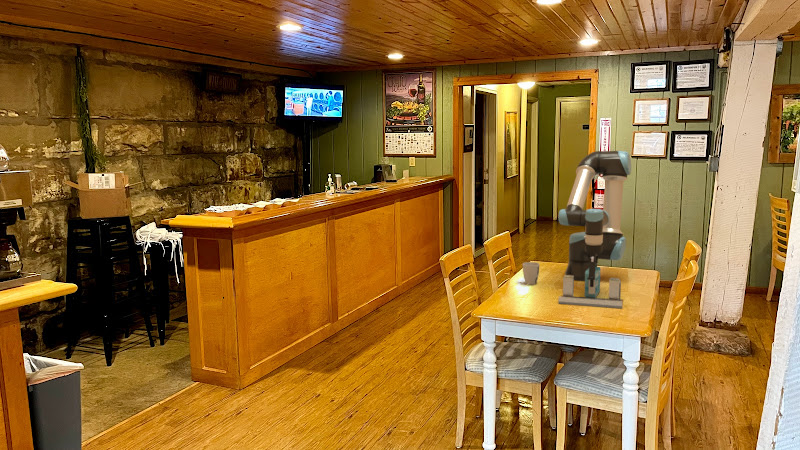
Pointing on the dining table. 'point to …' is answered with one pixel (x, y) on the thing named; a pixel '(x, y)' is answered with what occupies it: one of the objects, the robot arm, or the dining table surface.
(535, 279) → the cup
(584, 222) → the robot arm
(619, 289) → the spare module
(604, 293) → the dining table surface
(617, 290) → the rail plate
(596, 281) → the data package
